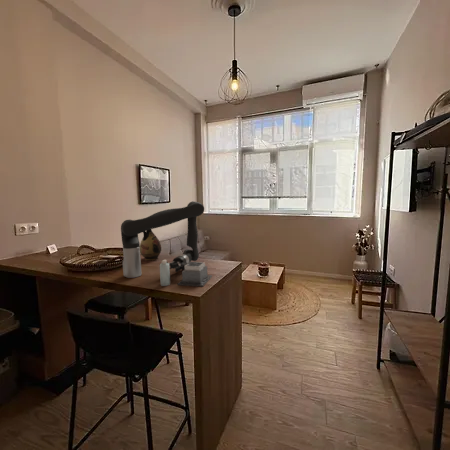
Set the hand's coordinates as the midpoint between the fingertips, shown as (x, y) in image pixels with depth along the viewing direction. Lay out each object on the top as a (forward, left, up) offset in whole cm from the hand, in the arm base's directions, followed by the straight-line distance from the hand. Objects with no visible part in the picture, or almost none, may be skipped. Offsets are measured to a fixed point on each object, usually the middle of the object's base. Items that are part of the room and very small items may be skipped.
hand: (169, 269), depth 136 cm
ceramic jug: (-36, +41, -7) cm, 55 cm away
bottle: (0, -5, -7) cm, 8 cm away
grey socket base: (+14, +3, -7) cm, 16 cm away
